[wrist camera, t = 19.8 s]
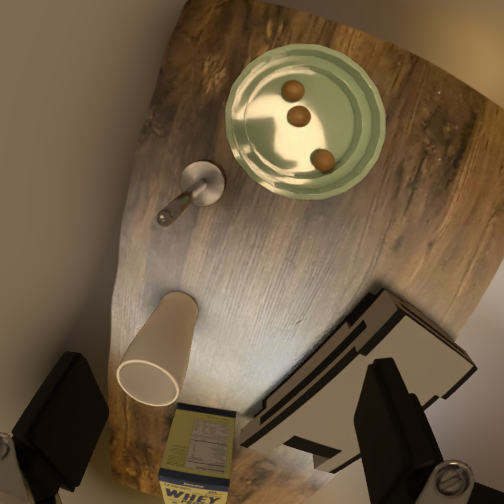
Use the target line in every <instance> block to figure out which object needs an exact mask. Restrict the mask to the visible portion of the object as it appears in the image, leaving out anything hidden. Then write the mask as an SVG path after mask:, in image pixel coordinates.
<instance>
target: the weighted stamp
mask: <svg viewBox="0 0 504 504" xmlns="http://www.w3.org/2000/svg"><path fill="white" fill-rule="evenodd" d="M226 182H227V180H226V175H225V172H224V170H223V169H222V167H221V166H220V165H219V164H217V163H216V162H214V161H211V160H205V159H204V160H198V161H196V162H194V163H192V164H190V165H188V166H187V167H186V168H185V169H184V170H183V172H182V174H181V177H180V183H179V185H180V190H181V194H180V195H179V196H178V197H177V198H175V199H174V200H173V201H172V202H171V203H169V204H168V205H167V206H166V207H165V208H163V209H162V210H161V211H160V212H159V213H158V215H157V221H158V223H159V224H160V225H161V226H163V227H168V226H170V225H171V224H172V223H173V222H174V221H175V220H176V219H177V218H178V217H179V216H180V214H181V213H182V212H183V211H184V210H185V209H186V208H187V207H188V206H189V205H190V204H191V203H192V204H194V205H197V206H208V205H211V204H213V203H215V202H216V201H217V200H218V199H219V198H220V197H221V195H222V194H223V192H224V190H225V188H226Z"/></svg>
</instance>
